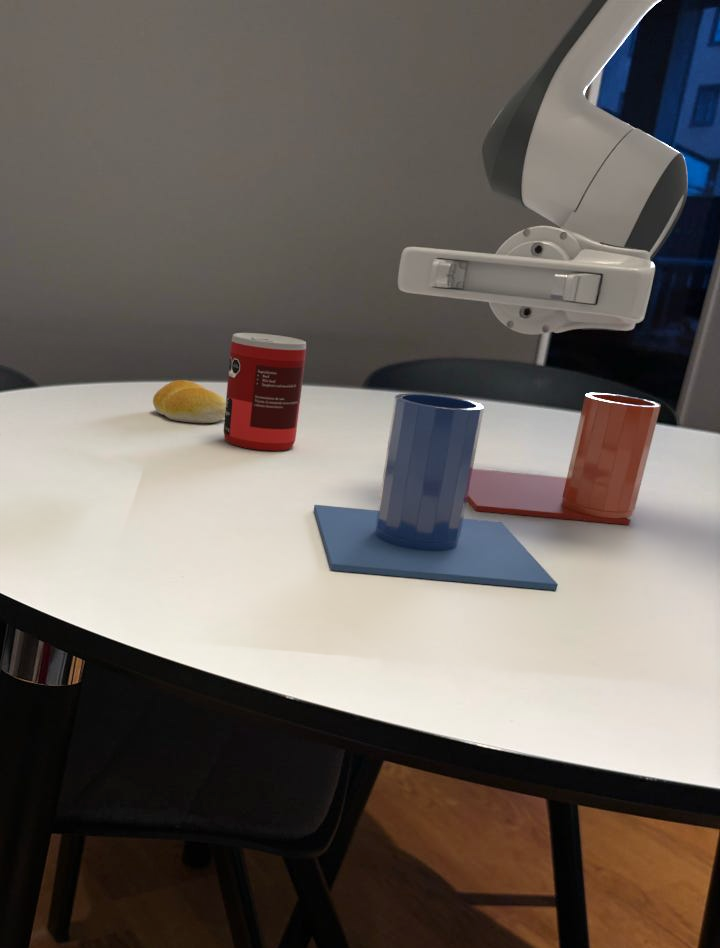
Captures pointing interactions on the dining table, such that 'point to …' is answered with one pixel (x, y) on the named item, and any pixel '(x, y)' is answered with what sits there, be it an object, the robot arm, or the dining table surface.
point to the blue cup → (428, 471)
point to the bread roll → (189, 403)
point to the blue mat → (429, 552)
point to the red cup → (610, 455)
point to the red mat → (525, 496)
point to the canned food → (264, 391)
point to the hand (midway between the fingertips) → (498, 280)
